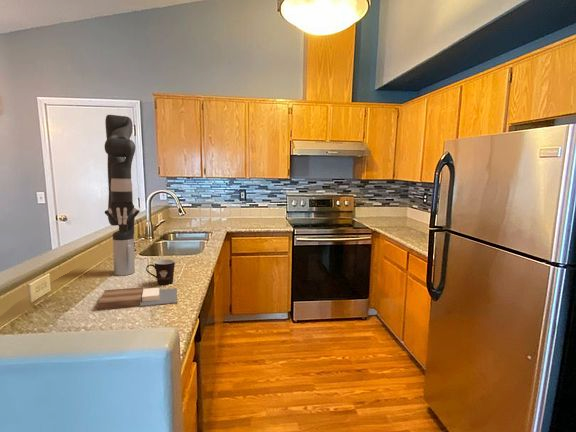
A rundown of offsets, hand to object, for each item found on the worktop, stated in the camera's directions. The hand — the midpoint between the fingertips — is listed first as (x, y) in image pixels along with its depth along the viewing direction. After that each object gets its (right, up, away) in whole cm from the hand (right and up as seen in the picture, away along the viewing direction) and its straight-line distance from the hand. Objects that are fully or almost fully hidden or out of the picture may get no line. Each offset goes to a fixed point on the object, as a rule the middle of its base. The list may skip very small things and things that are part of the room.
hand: (123, 233), depth 129 cm
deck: (+2, -26, -5) cm, 26 cm away
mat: (+15, -26, 0) cm, 30 cm away
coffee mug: (+9, -24, +17) cm, 31 cm away
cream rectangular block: (+12, -25, -1) cm, 28 cm away
